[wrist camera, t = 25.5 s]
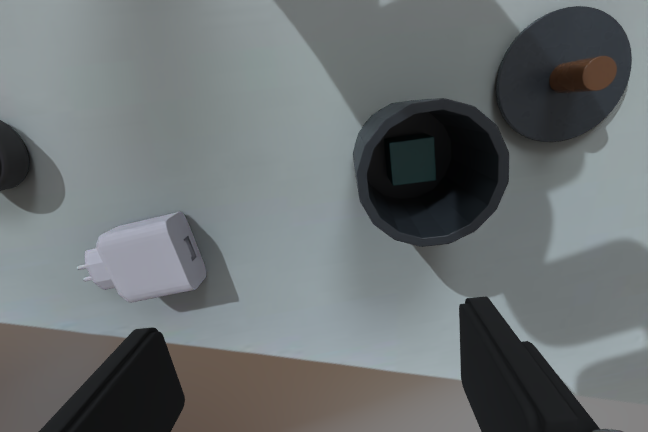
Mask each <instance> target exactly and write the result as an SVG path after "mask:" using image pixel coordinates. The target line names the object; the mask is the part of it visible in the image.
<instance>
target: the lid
mask: <svg viewBox="0 0 648 432" xmlns="http://www.w3.org/2000/svg"><path fill="white" fill-rule="evenodd" d="M631 61H632V57H631V48H630V44H629V40H628V38H627V35H626V33H625V31H624V30H623V28H622V27H621V25H620V24H619V23H618V22H617V21H616V20H615V19H614V18H613V17H611V16H610V15H608V14H607V13H605V12H603V11H601V10H598V9H595V8H590V7H581V6H576V7H567V8H563V9H559V10H556V11H554V12H551V13H549V14H546V15H545V16H543V17H541V18H539V19H537V20H536V21H534V22H533V23H531V24H530V25H529V26H528V27H527V28H525V29H524V30H523V31H522V32H521V33H520V34H519V35H518V36H517V37H516V39H515V40H514V41H513V43H512V44H511V45H510V47H509V49H508V50H507V52H506V54H505V56H504V58H503V60H502V62H501V65H500V68H499V72H498V77H497V85H496V93H497V101H498V105H499V108H500V111H501V113H502V115H503V117H504V119H505V120H506V122H507V123H508V124H509V125H510V126H511V127H512V128H513V129H514V130H515V131H516V132H518V133H519V134H521V135H523V136H525V137H527V138H530V139H533V140H538V141H544V142H556V141H563V140H568V139H571V138H574V137H577V136H579V135H581V134H583V133H585V132H587V131H589V130H590V129H592V128H593V127H595V126H596V125H597V124H599V123H600V122H601V121H602V120H603V119H604V118H605V117H606V116H607V115H608V114H609V113H610V112H611V111H612V110H613V108H614V107H615V106H616V104H617V103H618V101H619V100H620V98H621V96H622V95H623V93H624V90H625V88H626V86H627V83H628V80H629V76H630V71H631Z"/></svg>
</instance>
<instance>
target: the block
mask: <svg viewBox="0 0 648 432" xmlns="http://www.w3.org/2000/svg"><path fill="white" fill-rule="evenodd" d="M384 144H385V155H386V167H387V177H388V179H389V180H390V182H391V184H392V185H393V186H396V185H404V184H412V183H419V182H427V181H435V180H436V165H435V143H434V137H433V136H430V135H428V134H425V133H421V134H414V135H407V136H400V137H393V138H386V139H384Z"/></svg>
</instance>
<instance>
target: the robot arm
mask: <svg viewBox="0 0 648 432" xmlns="http://www.w3.org/2000/svg"><path fill="white" fill-rule="evenodd" d="M459 317H460V354H461V380H462V384H463V388H464V391H465V393H466V395H467V398H468V400H469V403H470V405H471V408H472V410H473V412H474V415H475V417H476V419H477V422H478V424H479V427H480V429H481V431H482V432H622V431H618V430H611V429H599V427H598V426H597V425H596V423H595V422H594V421H593V419H592V418H591V417H590V416H589V414H588V413H587V412H586V411H585V409H584V408H583V407H582V406H581V404H580V403H579V402H578V400H576V398H575V397H574V395H573V394H572V393H571V392H570V390H569V389H568V388H567V386H566V385H565V384H564V383H563V381H562V380H561V379H560V378H559V376H558V375H557V374H556V373H555V371H554V370H553V369H552V367H551V366H550V365H549V364H548V362H547V361H546V360H545V359H544V357H543V356H542V355H541V353H540V352H539V351H538V350H537V348H536V347H535V346H534V345H533V344H532V343H530V342H528V341H525V342H521V341H520V340H519V338H518V337H517V336H516V334H515V333H514V332H513V330H512V329H511V328H510V326H509V325H508V324H507V322H506V321H505V320H504V318H503V317H502V316H501V314H500V313H499V312H498V310H497V309H496V308H495V306H494V305H493V304H492V302H491V301H490V299H489V298H488V297H477V298H467V299H466V301H465V304H460V306H459ZM184 402H185V398H184V394H183V391H182V388H181V385H180V382H179V379H178V377H177V374H176V371H175V368H174V365H173V363H172V360H171V357H170V354H169V351H168V348H167V345H166V343H165V340H164V337H163V335H162V333H161V332H158V330H157V329H156V328H143V329H136V330H134V331H133V332H132V333H131V334H130V335H129V336H128V337H127V338H126V339H125V340H124V341H123V342H122V343H121V345H119V347H118V348H117V349H116V350H115V351H114V352H113V353H112V354H111V355H110V356H109V357H108V358H107V359H106V361H105V362H104V363H103V364H102V365H101V366H100V367H99V368H98V369H97V370H96V371H95V372H94V373H93V374H92V375H91V376H90V378H89V379H88V380H87V381H86V382H85V383H84V384H83V385H82V386H81V387H80V388H79V389H78V390H77V391H76V393H75V394H74V395H73V396H72V397H71V398H70V399H69V400H68V401H67V402H66V403H65V404H64V405H63V406H62V408H61V409H60V410H59V411H58V412H57V413H56V414H55V415H54V416H53V417H52V418H51V420H49V421H48V422H47V423H46V425H45V426H44V427H43V428H42V429H41V430H40V431H39V432H171V430H172V428H173V426H174V424H175V422H176V421H177V419H178V417H179V415H180V413H181V411H182V409H183V407H184Z"/></svg>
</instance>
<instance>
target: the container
mask: <svg viewBox="0 0 648 432" xmlns="http://www.w3.org/2000/svg"><path fill="white" fill-rule="evenodd" d="M421 133H425V134H428V135H430V136H433V137H434V143H435V165H436V180H435V181H427V182H419V183H412V184H404V185H396V186H393V185H392V184H391V182H390V180H389V179H388V177H387V167H386V155H385V144H384V139H386V138H393V137H400V136H407V135H414V134H421ZM353 157H354V165H355V173H356V180H357V186H358V192H359V199H360V202H361V204H362V206H363V207H364V209H365V211H366V212H367V214H368V216H369V218H370V219H371V221H372V223H373V224H374V225H375V226H377V227H378V228H379V229H381V230H382V231H383V232H385V233H386V234H387V235H389V236H390V237H391V238H393V239H394V240H397V241H401V242H405V243H409V244H413V245H417V246H422V247H423V246H432V245H442V244H449V243H452V242H454V241H456V240H458V239H460V238H462V237H464V236H466V235H468V234H470V233H472V232H474V231H475V230H477V229H478V228H479V227H480V226H481V225H482V224H483V223H484V222H485V221H486V220H487V219H488V218H489V217H490V216H491V215H492V214H493V213H494V212H495V210H496V209H497V207H498V205H499V203H500V200H501V198H502V196H503V194H504V191H505V189H506V187H507V185H508V182H509V152H508V149H507V147H506V145H505V142H504V140H503V138H502V135H501V133H500V131H499V129H498V127H497V125H496V124H495V123H493V122H492V121H491V120H490V119H489V118H488V117H486V116H485V115H484V114H483V113H482V112H481V111H479V110H478V109H477V108H476V107H474V106H472V105H468V104H464V103H460V102H457V101H453V100H449V99H444V98H440V99H425V100H411V101H405V102H398V103H392V104H390V105H388V106H386V107H384V108H383V109H381V110H379V111H378V112H376V113H375V114H373V115H372V116H371V117H370V118H369V120H368V121H367V122H366V123H365V124H364V126H363V127H362V129H361V130H360V132H359V133H358V137H357V140H356V143H355V148H354V151H353Z"/></svg>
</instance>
